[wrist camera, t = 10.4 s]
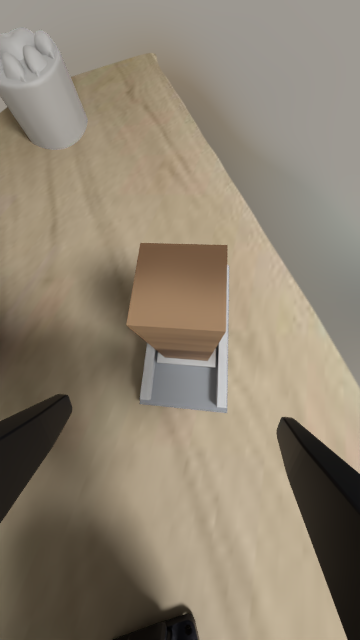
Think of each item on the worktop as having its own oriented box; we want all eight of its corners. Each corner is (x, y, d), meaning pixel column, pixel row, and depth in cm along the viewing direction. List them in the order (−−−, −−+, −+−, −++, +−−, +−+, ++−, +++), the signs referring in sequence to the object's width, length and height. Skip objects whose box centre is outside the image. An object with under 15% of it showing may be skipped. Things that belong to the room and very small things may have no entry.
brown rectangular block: (214, 367, 19) (244, 345, 7) (158, 363, 19) (107, 336, 8) (216, 317, 20) (243, 236, 9) (164, 314, 21) (127, 233, 9)
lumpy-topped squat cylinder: (73, 95, 36) (37, 10, 28) (98, 134, 32) (64, 48, 24) (19, 117, 35) (-34, 35, 27) (38, 160, 31) (-18, 80, 23)
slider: (225, 411, 18) (228, 414, 17) (141, 403, 19) (136, 405, 17) (228, 270, 23) (230, 261, 21) (159, 267, 23) (157, 258, 22)
